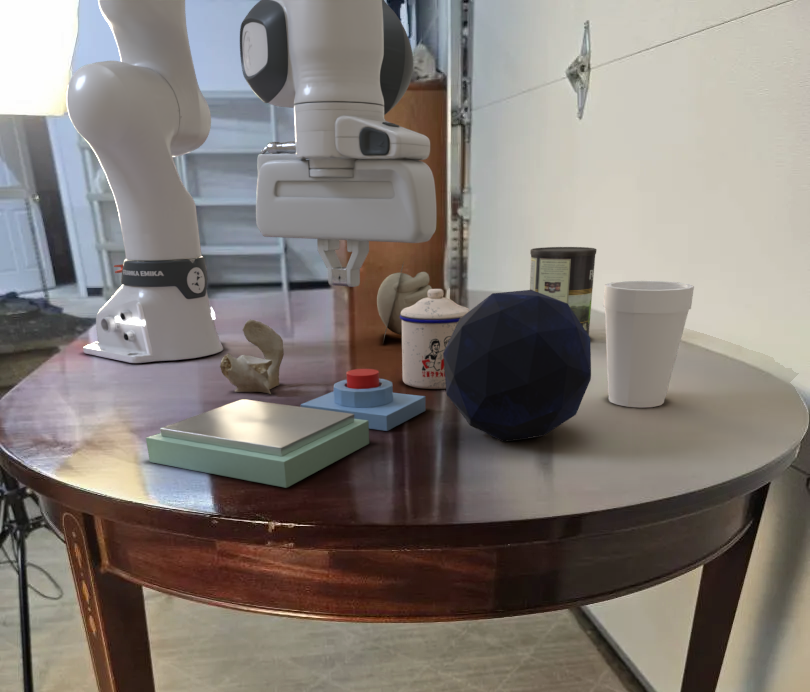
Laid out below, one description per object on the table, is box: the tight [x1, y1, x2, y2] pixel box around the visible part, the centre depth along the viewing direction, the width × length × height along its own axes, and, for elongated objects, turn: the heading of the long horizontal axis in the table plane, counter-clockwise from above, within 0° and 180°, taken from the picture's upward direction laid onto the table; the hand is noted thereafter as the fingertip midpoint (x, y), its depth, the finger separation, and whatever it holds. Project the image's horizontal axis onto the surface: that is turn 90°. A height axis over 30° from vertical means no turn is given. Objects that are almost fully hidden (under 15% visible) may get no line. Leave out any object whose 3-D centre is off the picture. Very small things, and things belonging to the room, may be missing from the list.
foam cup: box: [602, 280, 695, 409], centre depth 88 cm, size 10×9×13 cm
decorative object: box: [376, 260, 433, 343], centre depth 128 cm, size 13×10×10 cm
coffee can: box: [529, 246, 597, 336], centre depth 125 cm, size 10×10×14 cm
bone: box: [219, 318, 285, 395], centre depth 97 cm, size 9×6×10 cm
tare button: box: [346, 368, 380, 389], centre depth 86 cm, size 4×4×2 cm
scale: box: [145, 398, 370, 489], centre depth 75 cm, size 16×14×3 cm
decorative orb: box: [443, 289, 592, 443], centre depth 76 cm, size 14×15×15 cm
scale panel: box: [300, 378, 426, 432], centre depth 87 cm, size 11×9×4 cm
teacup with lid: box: [400, 288, 471, 390], centre depth 100 cm, size 12×9×12 cm
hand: (344, 285), depth 82 cm, fingers closed
